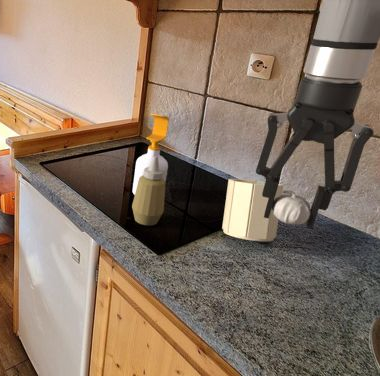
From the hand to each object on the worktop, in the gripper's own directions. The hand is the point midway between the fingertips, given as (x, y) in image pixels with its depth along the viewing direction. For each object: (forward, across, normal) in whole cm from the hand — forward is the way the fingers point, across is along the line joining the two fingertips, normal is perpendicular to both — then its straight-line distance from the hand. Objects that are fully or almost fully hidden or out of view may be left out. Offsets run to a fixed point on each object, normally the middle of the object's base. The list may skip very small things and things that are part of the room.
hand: (287, 219), depth 68 cm
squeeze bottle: (+20, +29, -22) cm, 42 cm away
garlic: (0, 0, 0) cm, 0 cm away
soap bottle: (+20, +34, -38) cm, 55 cm away
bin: (+18, +5, -26) cm, 32 cm away
